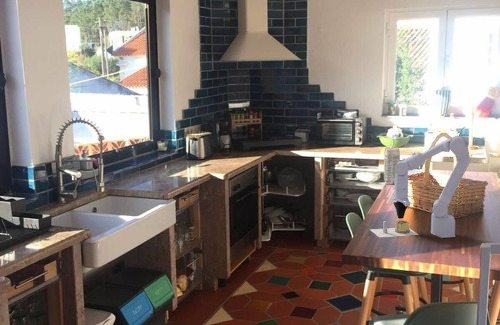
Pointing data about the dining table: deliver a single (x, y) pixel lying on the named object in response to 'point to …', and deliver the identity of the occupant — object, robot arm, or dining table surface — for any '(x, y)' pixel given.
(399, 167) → the robot arm
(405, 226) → the brass collar
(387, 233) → the assembly board
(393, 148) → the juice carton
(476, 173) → the dining table surface
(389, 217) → the dining table surface
